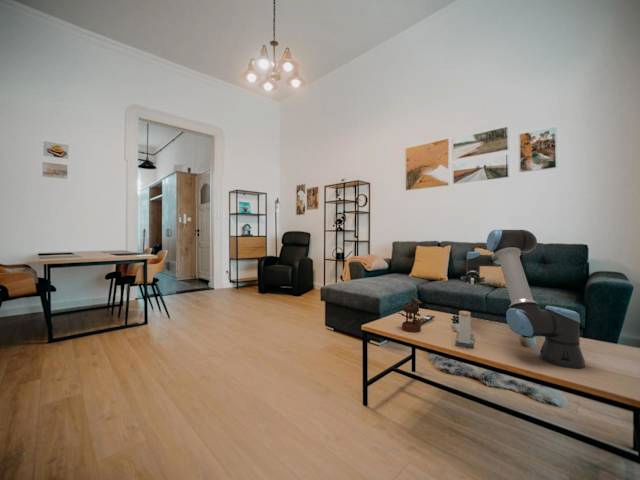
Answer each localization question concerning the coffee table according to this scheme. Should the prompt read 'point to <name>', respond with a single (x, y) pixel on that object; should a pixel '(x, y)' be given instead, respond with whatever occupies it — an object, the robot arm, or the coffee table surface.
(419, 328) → the music box
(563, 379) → the coffee table surface
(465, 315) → the grey tall cylinder
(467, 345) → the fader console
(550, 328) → the robot arm
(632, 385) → the coffee table surface
